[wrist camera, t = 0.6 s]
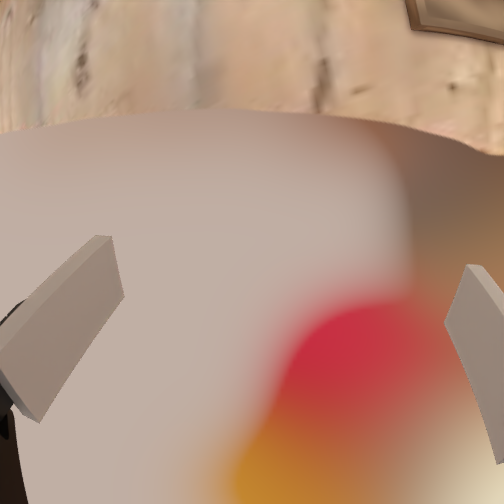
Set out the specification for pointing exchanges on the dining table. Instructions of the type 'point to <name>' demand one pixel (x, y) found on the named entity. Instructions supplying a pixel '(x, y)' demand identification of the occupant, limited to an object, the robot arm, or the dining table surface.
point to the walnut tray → (459, 18)
